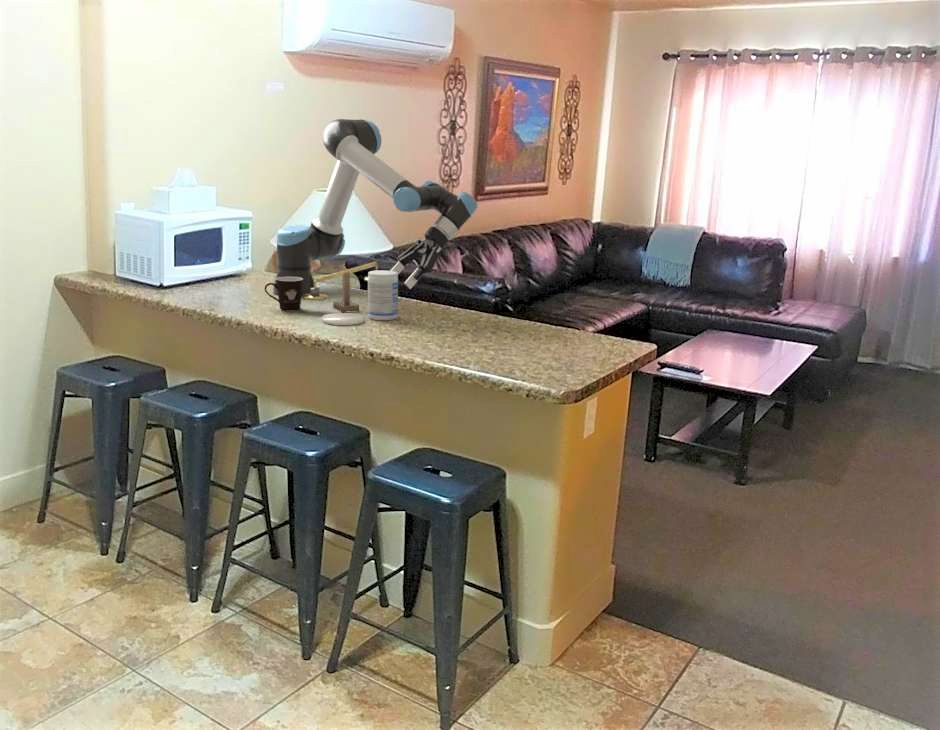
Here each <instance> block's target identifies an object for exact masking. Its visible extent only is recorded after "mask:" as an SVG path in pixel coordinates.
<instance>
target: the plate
mask: <svg viewBox="0 0 940 730" xmlns="http://www.w3.org/2000/svg"><path fill="white" fill-rule="evenodd" d="M321 322H322V323H323V322H324V323H323V324H325V323H327V324H326V325H329V324H332V325H331V326H336V325H351V326H354V325H353V324H358V325H360V324H359V323H361V324H363V323H365V317H364V315H361V314H359V313H352V312H344V313H342V312H335V313H329V314H328V313H327V314H323V315H322V316H321Z"/></svg>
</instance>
